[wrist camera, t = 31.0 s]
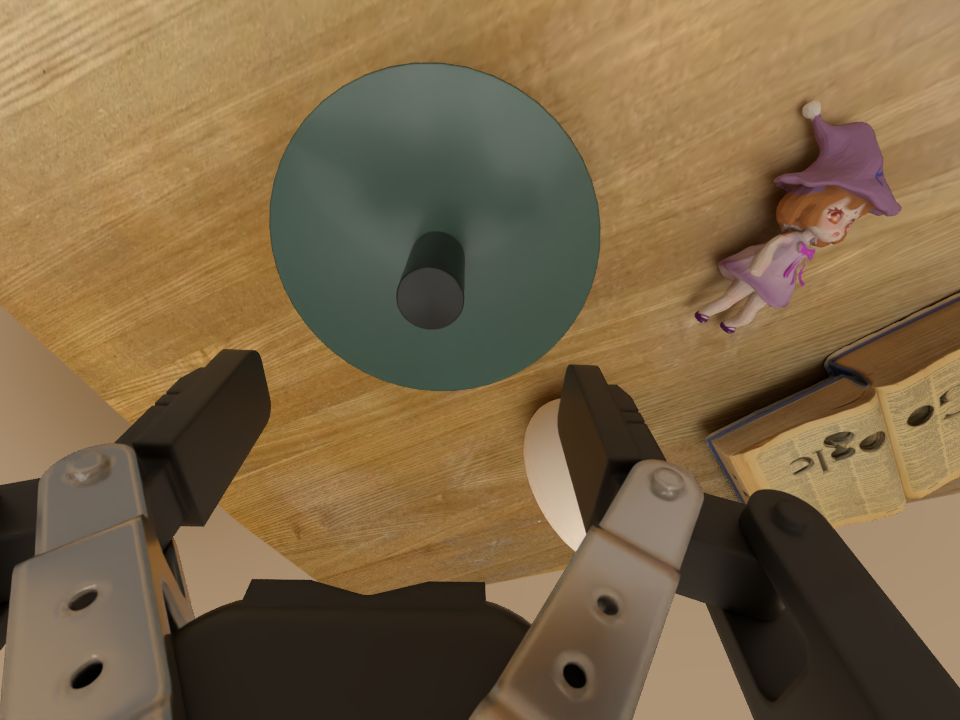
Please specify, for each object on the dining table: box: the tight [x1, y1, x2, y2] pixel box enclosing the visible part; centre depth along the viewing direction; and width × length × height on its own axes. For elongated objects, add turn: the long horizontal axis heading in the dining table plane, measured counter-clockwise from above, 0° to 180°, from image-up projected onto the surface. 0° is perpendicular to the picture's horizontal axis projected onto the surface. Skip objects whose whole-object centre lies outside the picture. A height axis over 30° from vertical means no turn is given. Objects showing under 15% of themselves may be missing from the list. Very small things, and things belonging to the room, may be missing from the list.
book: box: [705, 293, 960, 530], centre depth 40 cm, size 25×17×6 cm
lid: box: [269, 63, 600, 391], centre depth 19 cm, size 16×16×6 cm
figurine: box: [695, 101, 902, 333], centre depth 31 cm, size 9×8×15 cm
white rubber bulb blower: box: [524, 398, 586, 551], centre depth 33 cm, size 8×8×18 cm
